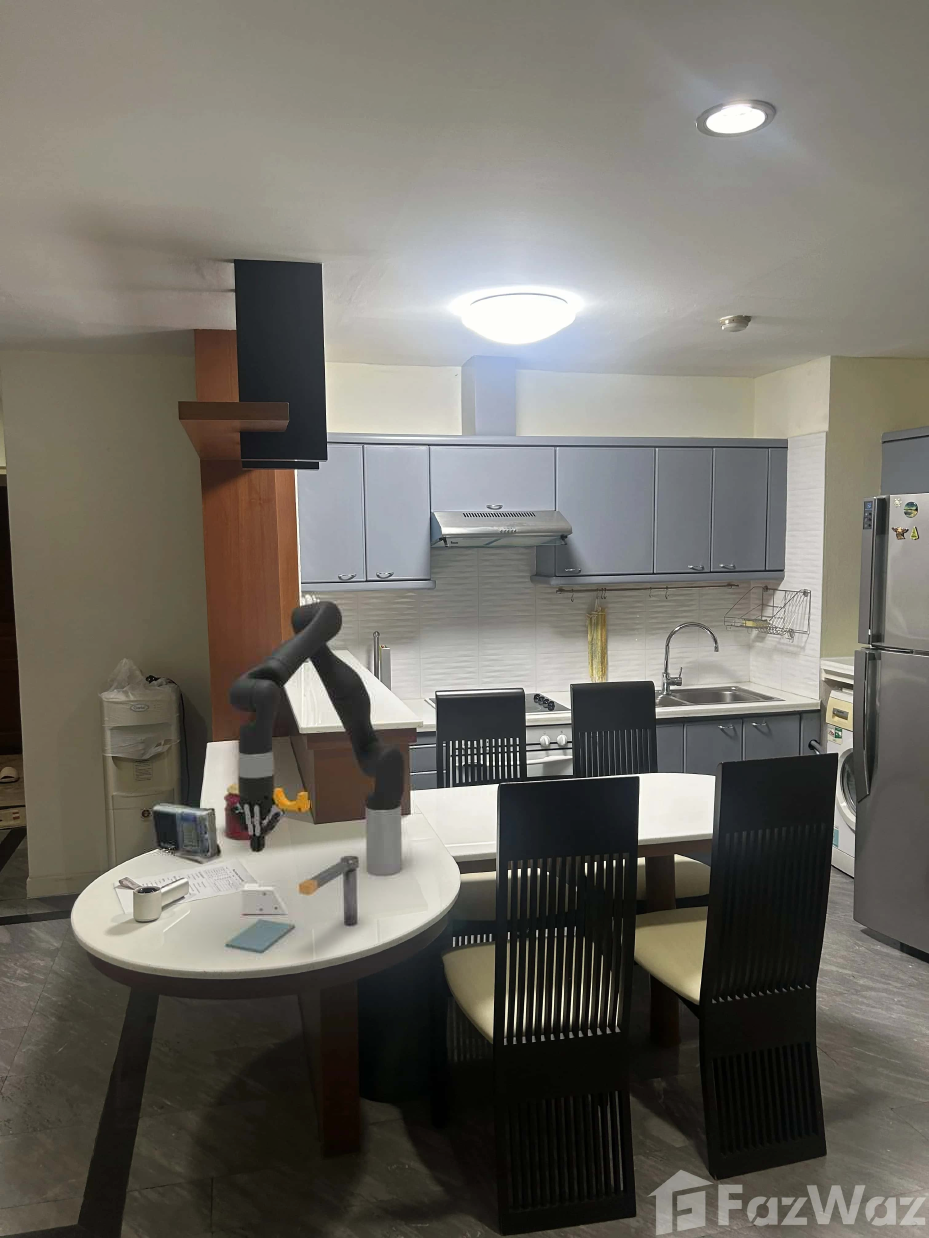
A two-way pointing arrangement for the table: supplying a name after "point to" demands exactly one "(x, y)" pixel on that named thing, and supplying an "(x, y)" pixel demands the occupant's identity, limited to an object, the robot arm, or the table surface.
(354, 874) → the post
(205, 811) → the radio
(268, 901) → the white angled block
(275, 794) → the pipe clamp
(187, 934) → the table surface
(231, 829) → the canister
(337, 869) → the grey and orange bar
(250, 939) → the slate mat
